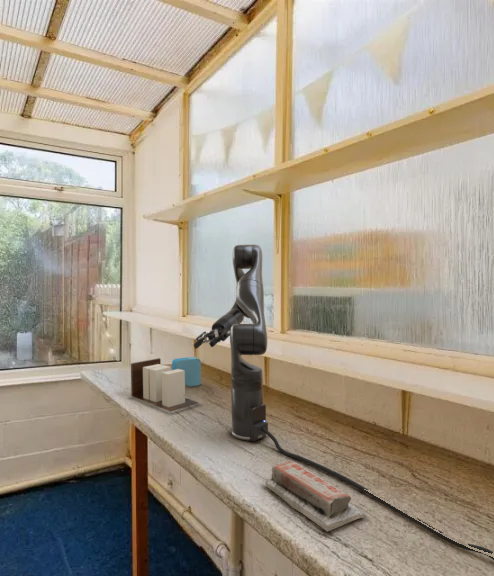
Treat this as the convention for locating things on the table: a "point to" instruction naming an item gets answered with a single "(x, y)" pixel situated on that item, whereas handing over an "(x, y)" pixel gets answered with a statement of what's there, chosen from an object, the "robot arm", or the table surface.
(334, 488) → the packaged product
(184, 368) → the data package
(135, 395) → the dark wood bookend
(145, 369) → the white book
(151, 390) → the cream rectangular block
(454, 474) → the table surface
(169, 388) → the upright ivory block
